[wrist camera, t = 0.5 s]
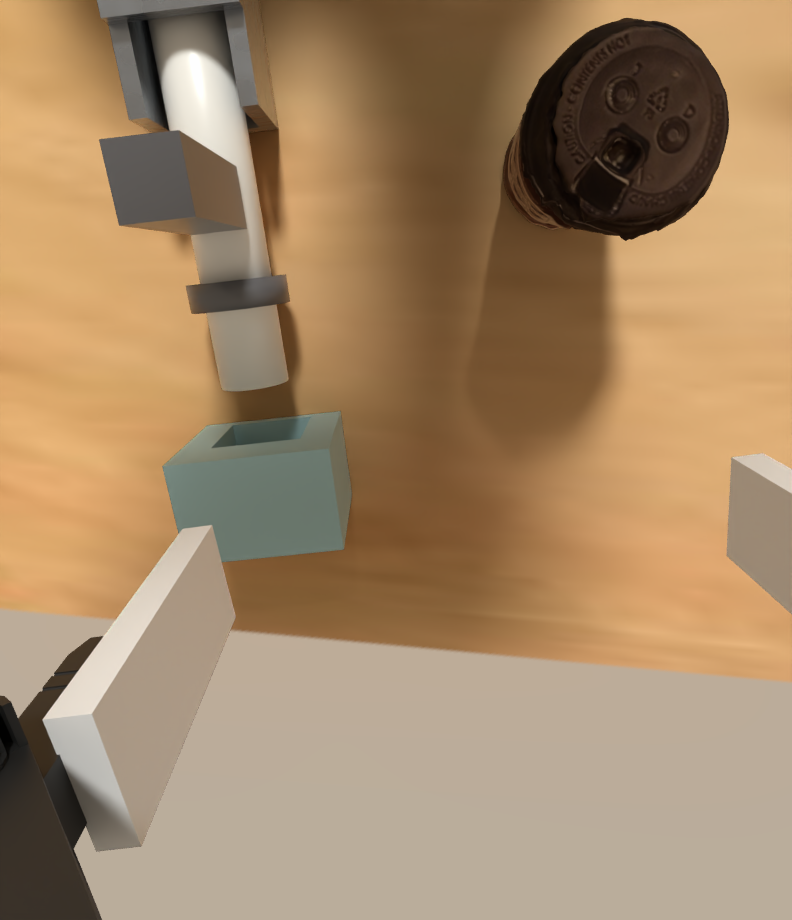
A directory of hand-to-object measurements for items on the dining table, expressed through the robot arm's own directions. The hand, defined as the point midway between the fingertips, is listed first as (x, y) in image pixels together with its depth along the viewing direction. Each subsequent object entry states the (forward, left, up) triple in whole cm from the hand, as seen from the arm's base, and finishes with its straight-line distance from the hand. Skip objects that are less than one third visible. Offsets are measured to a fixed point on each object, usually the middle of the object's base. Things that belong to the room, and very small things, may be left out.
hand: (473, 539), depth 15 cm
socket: (+5, -10, -25) cm, 28 cm away
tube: (-14, -10, -25) cm, 31 cm away
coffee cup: (-11, +9, -26) cm, 29 cm away
